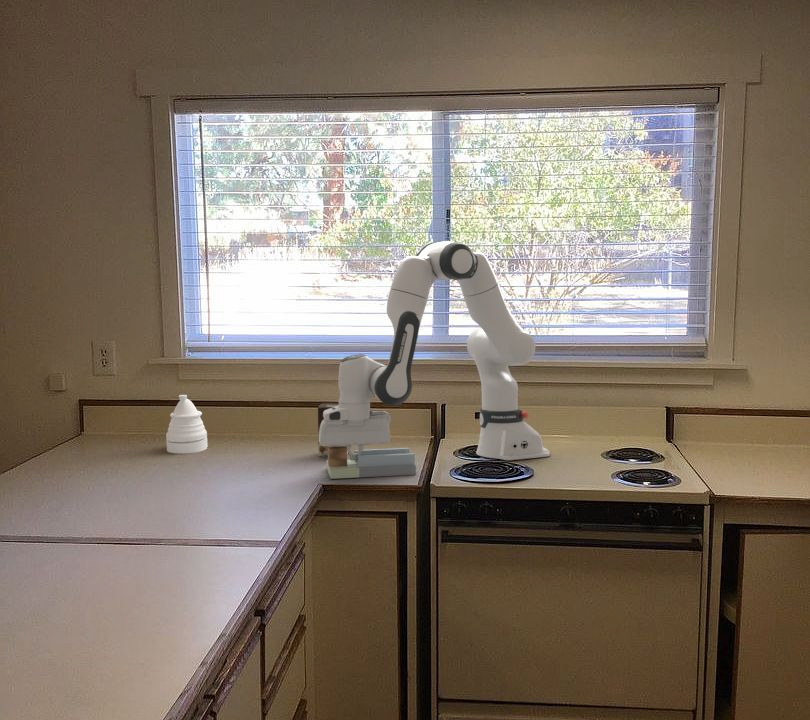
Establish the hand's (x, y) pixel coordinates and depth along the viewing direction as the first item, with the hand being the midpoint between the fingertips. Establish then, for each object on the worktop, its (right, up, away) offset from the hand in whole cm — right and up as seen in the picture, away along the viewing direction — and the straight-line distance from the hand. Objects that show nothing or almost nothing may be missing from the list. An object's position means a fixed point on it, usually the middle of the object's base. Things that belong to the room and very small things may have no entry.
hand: (354, 460), depth 224 cm
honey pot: (-57, -1, +33) cm, 66 cm away
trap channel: (+4, -4, +1) cm, 6 cm away
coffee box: (-8, -2, +22) cm, 24 cm away
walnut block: (-5, -1, -1) cm, 5 cm away
